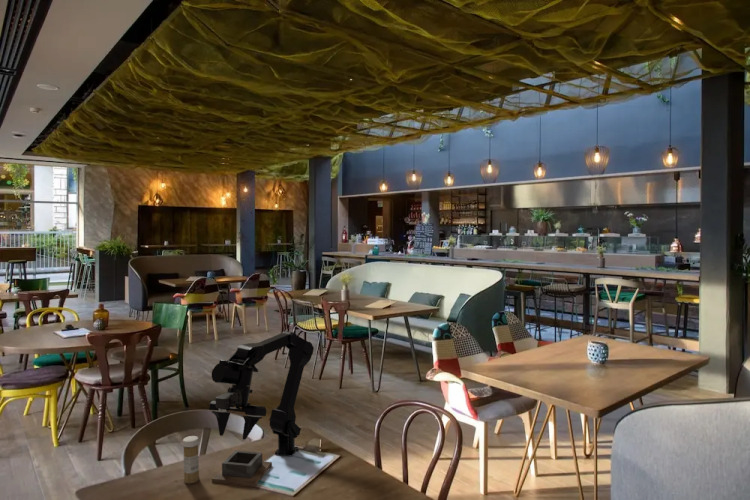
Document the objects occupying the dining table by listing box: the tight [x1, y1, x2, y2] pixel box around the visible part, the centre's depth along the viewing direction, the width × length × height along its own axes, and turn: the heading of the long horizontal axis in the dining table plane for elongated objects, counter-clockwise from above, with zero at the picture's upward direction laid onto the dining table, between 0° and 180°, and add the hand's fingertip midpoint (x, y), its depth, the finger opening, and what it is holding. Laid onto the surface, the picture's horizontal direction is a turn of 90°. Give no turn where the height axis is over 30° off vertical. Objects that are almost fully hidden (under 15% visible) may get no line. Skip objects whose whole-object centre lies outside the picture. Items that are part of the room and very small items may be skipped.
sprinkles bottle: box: [182, 435, 200, 484], centre depth 161 cm, size 5×5×13 cm
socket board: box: [211, 450, 273, 488], centre depth 166 cm, size 14×14×5 cm
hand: (232, 437), depth 160 cm, fingers open, 9 cm apart
